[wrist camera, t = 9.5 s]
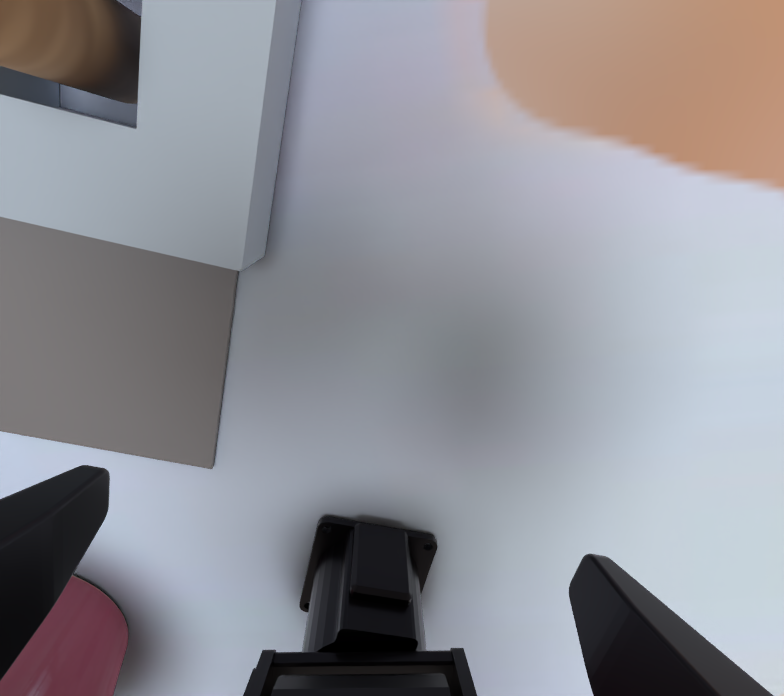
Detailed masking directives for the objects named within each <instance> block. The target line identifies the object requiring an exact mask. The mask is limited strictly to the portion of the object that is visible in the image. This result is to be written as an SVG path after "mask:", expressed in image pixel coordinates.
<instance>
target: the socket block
mask: <svg viewBox="0 0 784 696" xmlns="http://www.w3.org/2000/svg"><path fill="white" fill-rule="evenodd" d="M301 1H302V0H142V14H141V37H140V59H139V82H138V105H137V127H135V126H131V125H127V124H123V123H119V122H115V121H111V120H107V119H104V118H100V117H96V116H92V115H88V114H84V113H80V112H76V111H72V110H68V109H64V108H61V107H60V94H59V83H56V82H53V81H50V80H46V79H43V78H39V77H36V76H33V75H29V74H26V73H23V72H19V71H16V70H13V69H9V68H6V67H3V66H0V217H4V218H8V219H13V220H17V221H22V222H26V223H30V224H35V225H39V226H43V227H48V228H52V229H57V230H61V231H65V232H70V233H74V234H79V235H83V236H87V237H92V238H96V239H101V240H105V241H109V242H114V243H118V244H123V245H127V246H131V247H136V248H140V249H144V250H149V251H153V252H158V253H162V254H166V255H171V256H175V257H180V258H184V259H188V260H193V261H197V262H202V263H206V264H210V265H215V266H219V267H223V268H228V269H232V270H237V271H243V270H244V269H246V268H247V267H249V266H250V265H252V264H253V263H255V262H256V261H258V260H259V259H261V258H262V257H264V256H265V250H266V243H267V236H268V229H269V222H270V216H271V209H272V202H273V195H274V188H275V181H276V174H277V167H278V160H279V153H280V146H281V139H282V133H283V126H284V119H285V112H286V105H287V98H288V91H289V84H290V77H291V70H292V63H293V56H294V50H295V43H296V36H297V29H298V22H299V15H300V8H301Z"/></svg>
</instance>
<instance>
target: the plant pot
mask: <svg viewBox="0 0 784 696" xmlns="http://www.w3.org/2000/svg"><path fill="white" fill-rule="evenodd" d="M127 644H128V628H127V624H126V621H125V618H124V616H123V614H122V612H121V611H120V610H119V608H118V607H117V606H116V604H115V603H114V602H113V601H112V600H111V599H110V598H109V597H108V596H107V595H106V594H104V593H103V592H102V591H101V590H99V589H98V588H96V587H95V586H93V585H91V584H90V583H88V582H86V581H84V580H82V579H80V578H78V577H75V576H73V575H72V577H71V578H70V580H69V582H68V583H67V585H66V587H65V589H64V590H63V592H62V594H61V595H60V597H59V599H58V600H57V602H56V603H55V605H54V607H53V608H52V610H51V611H50V612H49V614H48V615H47V617H46V618H45V620H44V621H43V623H42V624H41V625H40V627H39V628H38V630H37V631H36V632H35V634H34V635H33V636H32V638H31V639H30V641H29V642H28V643H27V645H26V646H25V648H24V649H23V650H22V652H21V653H20V655H19V656H18V657H17V659H16V660H15V662H14V663H13V664H12V666H11V667H10V668H9V670H8V671H7V673H6V674H5V675H4V677H3V678H2V680H1V681H0V696H113V694H114V690H115V686H116V683H117V679H118V675H119V672H120V668H121V665H122V662H123V659H124V655H125V652H126V649H127Z"/></svg>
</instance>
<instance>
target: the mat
mask: <svg viewBox="0 0 784 696" xmlns="http://www.w3.org/2000/svg"><path fill="white" fill-rule="evenodd" d="M237 278H238V271H237V270H232V269H228V268H223V267H219V266H215V265H210V264H206V263H202V262H197V261H193V260H188V259H184V258H180V257H175V256H171V255H166V254H162V253H158V252H153V251H149V250H144V249H140V248H136V247H131V246H127V245H123V244H118V243H114V242H109V241H105V240H101V239H96V238H92V237H87V236H83V235H79V234H74V233H70V232H65V231H61V230H57V229H52V228H48V227H43V226H39V225H35V224H30V223H26V222H22V221H17V220H13V219H8V218H4V217H0V431H2V432H8V433H14V434H19V435H25V436H30V437H36V438H41V439H47V440H53V441H58V442H64V443H69V444H75V445H80V446H86V447H92V448H97V449H103V450H108V451H114V452H119V453H125V454H131V455H136V456H142V457H147V458H153V459H158V460H164V461H170V462H175V463H181V464H186V465H192V466H197V467H203V468H209V469H212V468H213V466H214V460H215V452H216V444H217V436H218V428H219V420H220V412H221V404H222V396H223V388H224V381H225V373H226V365H227V357H228V349H229V341H230V333H231V325H232V317H233V309H234V301H235V293H236V285H237Z"/></svg>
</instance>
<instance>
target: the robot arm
mask: <svg viewBox="0 0 784 696" xmlns="http://www.w3.org/2000/svg"><path fill="white" fill-rule="evenodd" d="M109 481H110V476H109V472H108V471H107V470H106V469H104V468H99V467H93V466H88V465H83V466H79V467H76V468H74V469H72V470H69V471H67V472H64V473H62V474H60V475H57V476H55V477H52V478H50V479H48V480H45V481H43V482H41V483H38V484H36V485H33V486H31V487H29V488H26V489H24V490H21V491H19V492H17V493H14V494H12V495H9V496H7V497H5V498H2V499H0V681H1V680H2V678H3V677H4V675H5V674H6V673H7V671H8V670H9V668H10V667H11V666H12V664H13V663H14V662H15V660H16V659H17V657H18V656H19V655H20V653H21V652H22V650H23V649H24V648H25V646H26V645H27V643H28V642H29V641H30V639H31V638H32V636H33V635H34V634H35V632H36V631H37V630H38V628H39V627H40V625H41V624H42V623H43V621H44V620H45V618H46V617H47V615H48V614H49V612H50V611H51V610H52V608H53V607H54V605H55V603H56V602H57V600H58V599H59V597H60V595H61V594H62V592H63V590H64V589H65V587H66V585H67V583H68V582H69V580H70V578H71V577H72V575H73V573H74V571H75V570H76V568H77V566H78V565H79V563H80V561H81V559H82V558H83V556H84V554H85V552H86V551H87V549H88V547H89V546H90V544H91V542H92V540H93V539H94V537H95V535H96V534H97V532H98V530H99V528H100V527H101V525H102V523H103V521H104V520H105V517H106V515H107V512H108V507H109ZM324 526H329V527H330V528H325V527H324ZM426 543H430V544H429V545H425V544H426ZM436 550H437V541H436V538H435V537H434V536H433V535H431V534H426V533H420V532H414V531H408V530H403V529H397V528H391V527H385V526H379V525H374V524H368V523H362V522H356V521H350V520H345V519H339V518H333V517H323V518H321V519H320V520H319V522H318V526H317V530H316V534H315V539H314V543H313V547H312V551H311V556H310V560H309V564H308V569H307V573H306V577H305V582H304V586H303V590H302V595H301V599H300V608H301V610H303V611H305V612H308V618H307V624H306V630H305V636H304V643H303V649H302V652H276V650H263V651H262V653H261V656H260V659H259V661H258V664H257V667H256V668H254V669H253V671H252V674H251V676H250V679H249V682H248V684H247V687H246V690H245V692H244V695H243V696H477V694H476V690H475V687H474V683H473V680H472V677H471V673H470V670H469V666H468V663H467V659H466V656H465V652H464V649H463V648H451V650H450V651H426V642H425V632H424V623H423V613H422V603H421V592H422V590H423V587H424V584H425V581H426V578H427V575H428V573H429V570H430V567H431V564H432V561H433V558H434V555H435V553H436ZM569 597H570V602H571V606H572V611H573V615H574V619H575V624H576V628H577V632H578V636H579V641H580V645H581V649H582V654H583V658H584V662H585V667H586V670H587V674H588V678H589V682H590V685H591V689H592V692H593V695H594V696H773V695H772V694H771V693H770V692H768V691H767V690H766V689H765V688H764V687H762V686H761V685H760V684H759V683H758V682H756V681H755V680H754V679H753V678H752V677H750V676H749V675H748V674H747V673H746V672H745V671H743V670H742V669H741V668H740V667H739V666H737V665H736V664H735V663H734V662H733V661H731V660H730V659H729V658H728V657H727V656H725V655H724V654H723V653H722V652H721V651H719V650H718V649H717V648H716V647H715V646H714V645H712V644H711V643H710V642H709V641H708V640H706V639H705V638H704V637H703V636H702V635H700V634H699V633H698V632H697V631H696V630H694V629H693V628H692V627H691V626H690V625H689V624H687V623H686V622H685V621H684V620H683V619H681V618H680V617H679V616H678V615H677V614H675V613H674V612H673V611H672V610H671V609H669V608H668V607H667V606H666V605H665V604H664V603H662V602H661V601H660V600H659V599H658V598H656V597H655V596H654V595H653V594H652V593H650V592H649V591H648V590H647V589H646V588H644V587H643V586H642V585H641V584H640V583H639V582H637V581H636V580H635V579H634V578H633V577H631V576H630V575H629V574H628V573H627V572H625V571H624V570H623V569H622V568H621V567H619V566H618V565H617V564H616V563H615V562H613V561H612V560H611V559H610V558H608V557H605V556H600V555H595V554H587V555H585V556H584V557H583V559H582V561H581V563H580V565H579V567H578V569H577V571H576V573H575V575H574V577H573V579H572V581H571V583H570V587H569ZM308 602H309V603H308Z"/></svg>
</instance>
